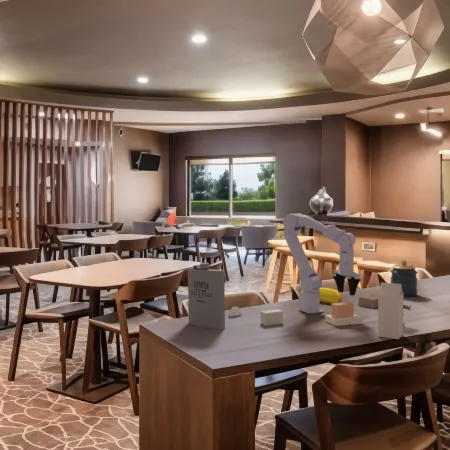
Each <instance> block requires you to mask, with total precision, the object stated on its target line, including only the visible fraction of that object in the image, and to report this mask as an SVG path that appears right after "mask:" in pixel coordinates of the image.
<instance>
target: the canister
mask: <svg viewBox="0 0 450 450" xmlns="http://www.w3.org/2000/svg"><path fill="white" fill-rule="evenodd" d="M416 268H417V267H416V266H414V264H410V263H407V260H401V263H396V264H394V265H393V266H392V270H390V273H391V277H390V283H392V284H401V288H402V291H403V296H405V297H404V298H411V297H416V296H418V277H417V274H418V271H417V270H416Z"/></svg>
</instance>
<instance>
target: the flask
mask: <svg viewBox="0 0 450 450" xmlns="http://www.w3.org/2000/svg"><path fill="white" fill-rule="evenodd" d="M209 267H210V263H209V262H200V263H199V264H196V265H192V267H191V266H190V267H188V268H187V299H188V300H187V301H188V302H187V307H188V312H187V313H188V324H189V325H192V326H195V325H196V327H200V328H206V329H212V330H213V329H214V330H224V329H225V328H226V312H225V311H226V307H225V306H226V304H225V301H226V300H225V299H226V298H225V295H226V294H225V292H226V291H225V270H224V269H214V268H213V269H211V268H209Z"/></svg>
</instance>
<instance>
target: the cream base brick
mask: <svg viewBox="0 0 450 450" xmlns="http://www.w3.org/2000/svg"><path fill="white" fill-rule="evenodd" d="M324 319H325V322H326V323H328V324H330V325H332V326H333V327H335V326H347V325H349V324H351V325H358V324H359V325H360V324H361V325H362V324H363V317H362V316H361V315H358V314H356V313H354V316H349V317H342V318H336V317H332V316H331V314H325V318H324Z"/></svg>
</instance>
